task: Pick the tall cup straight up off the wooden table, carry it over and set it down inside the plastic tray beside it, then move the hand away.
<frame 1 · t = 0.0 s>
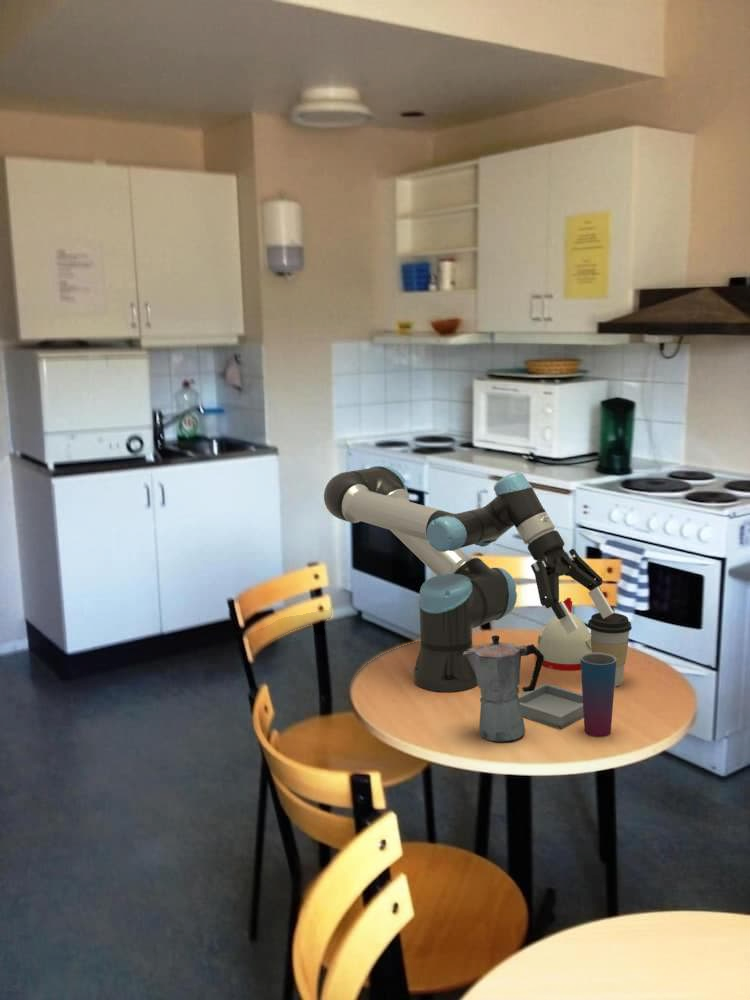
hand: (591, 623, 198), 16 cm above the table, tool tilted 35°, fingers open, 13 cm apart
moka pot: (503, 734, 184), on the table
coffee cup: (607, 683, 208), on the table, touching gripper
kitchen timer: (565, 661, 223), on the table
cup: (597, 732, 183), on the table
tray: (552, 710, 193), on the table
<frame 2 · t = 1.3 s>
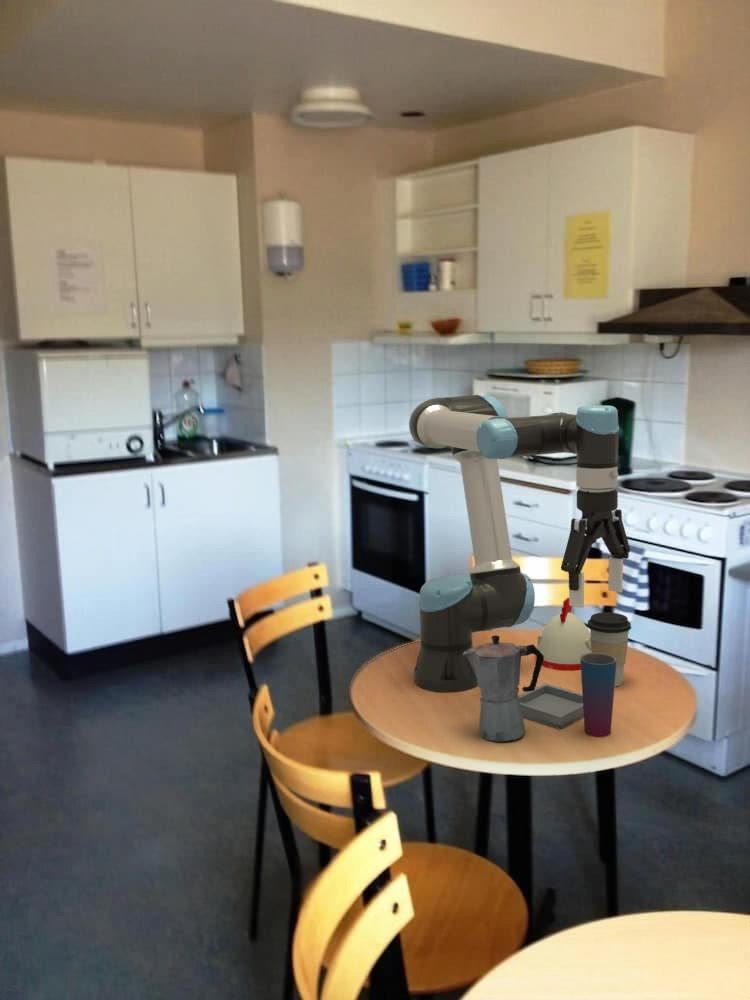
hand: (596, 598, 178), 27 cm above the table, tool pointing down, fingers open, 13 cm apart
coffee cup: (607, 683, 208), on the table
everything else where it was.
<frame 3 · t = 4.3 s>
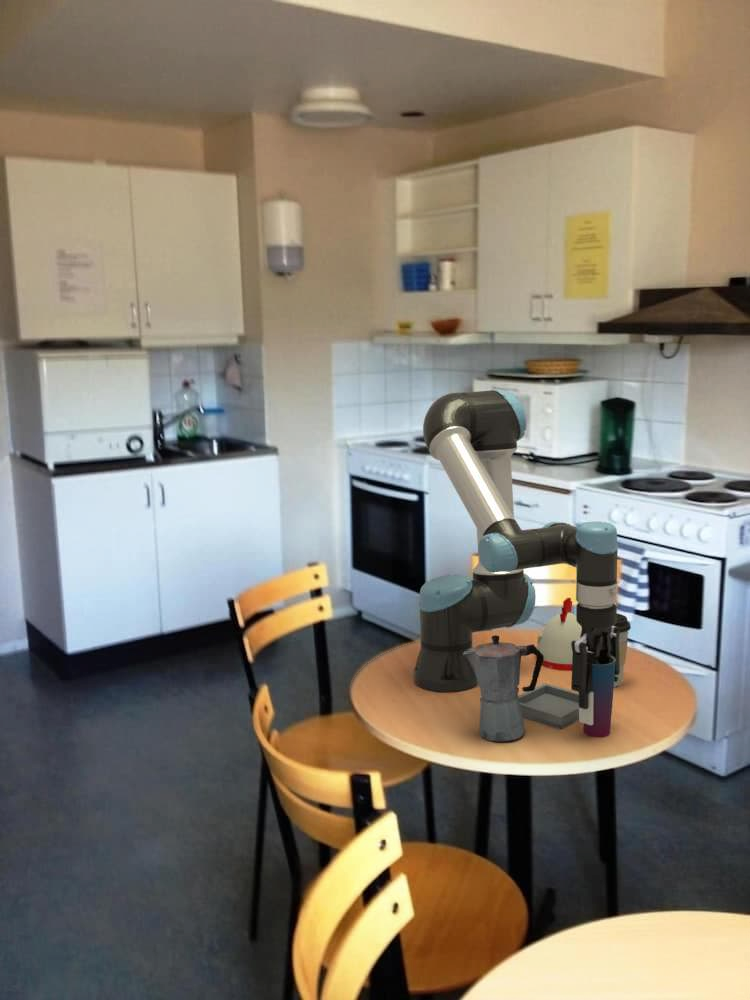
hand: (595, 717, 182), 3 cm above the table, tool pointing down, fingers closed on cup, 6 cm apart
cup: (596, 732, 183), on the table, touching gripper
everything else where it was.
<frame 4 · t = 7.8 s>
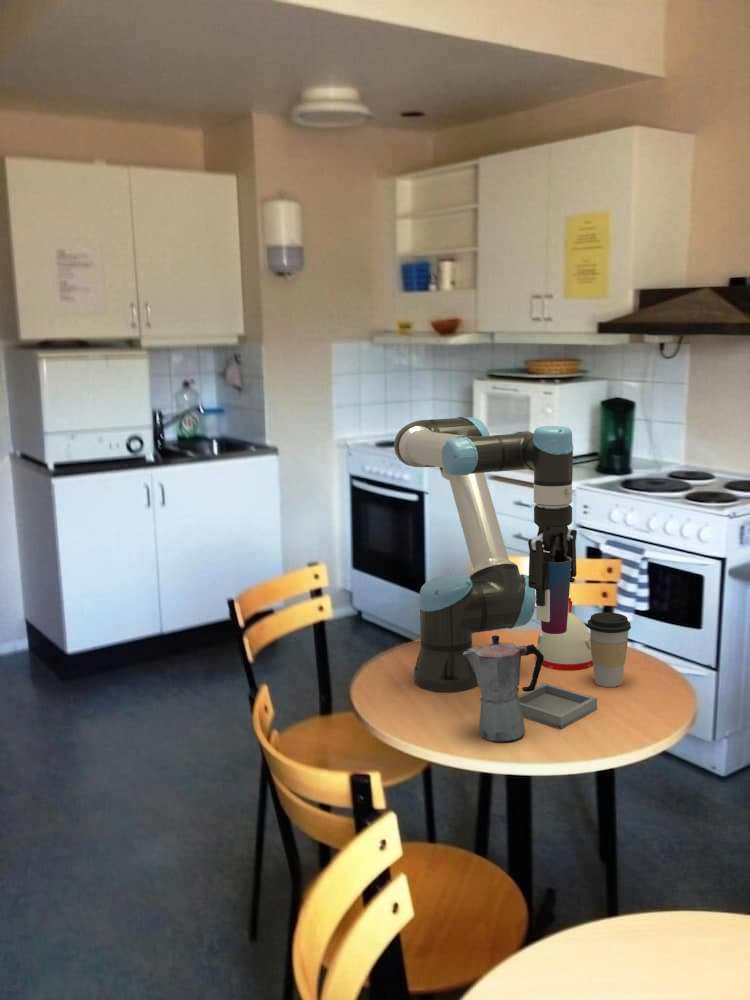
hand: (552, 616, 190), 20 cm above the table, tool pointing down, fingers closed on cup, 6 cm apart
cup: (554, 631, 190), point 17 cm above the table, touching gripper
everything else where it was.
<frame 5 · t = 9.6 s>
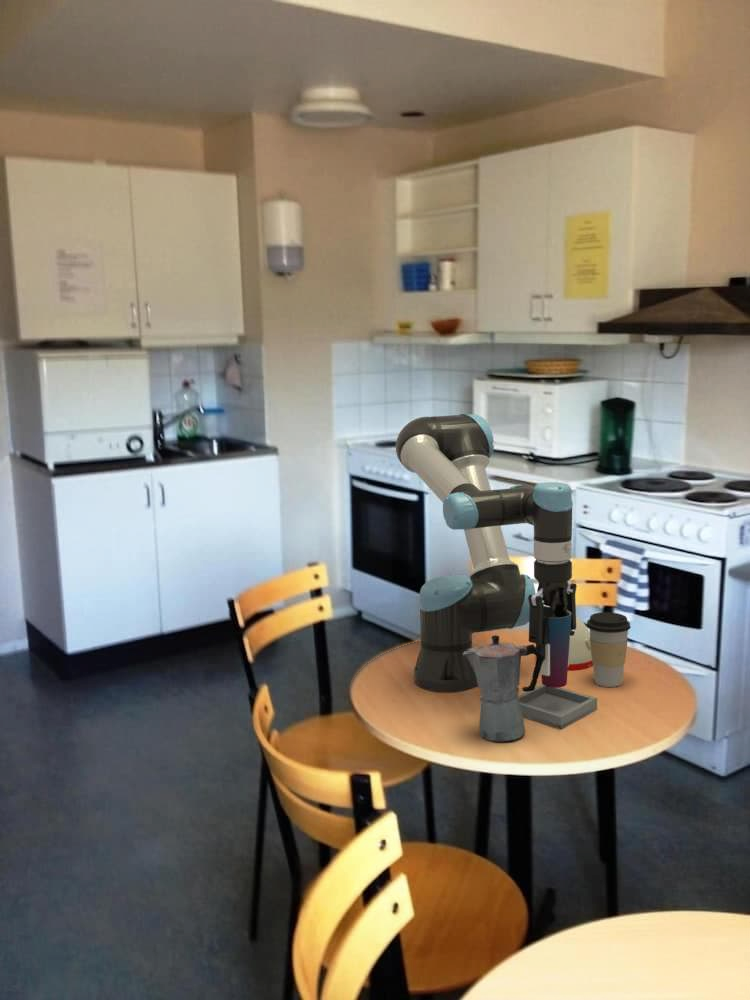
hand: (552, 669, 192), 9 cm above the table, tool pointing down, fingers closed on cup, 6 cm apart
cup: (554, 684, 192), point 6 cm above the table, touching gripper
everything else where it was.
when the fingers open (5 cm above the table, at t = 11.2 s): cup drops 1 cm, resting on tray.
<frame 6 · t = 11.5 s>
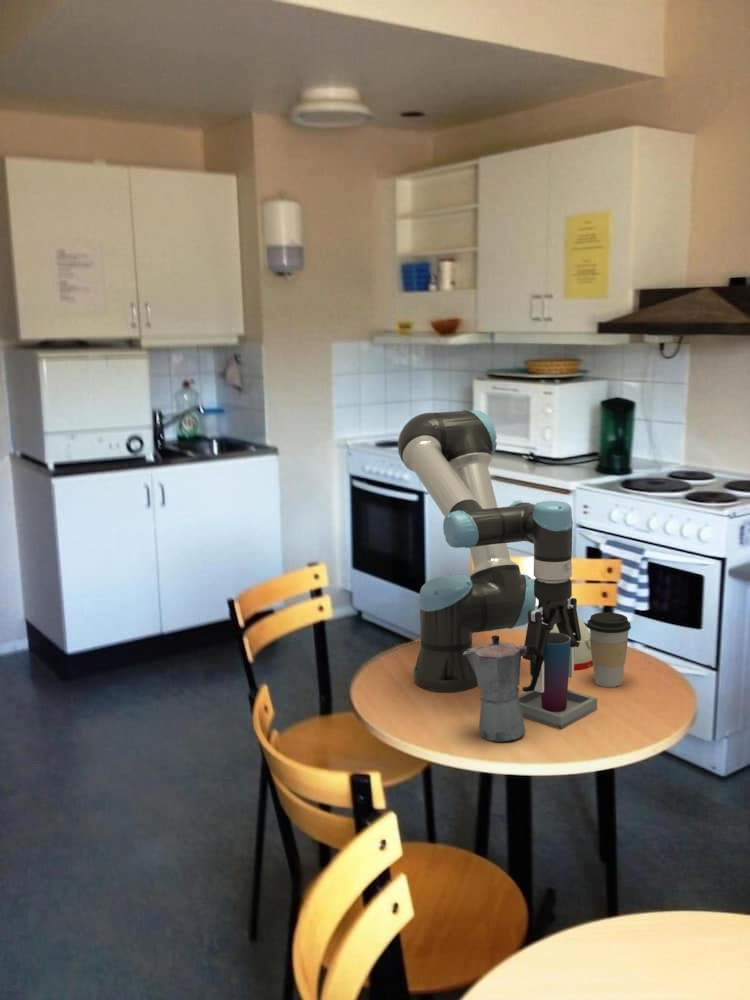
hand: (552, 683, 192), 6 cm above the table, tool pointing down, fingers open, 10 cm apart
cup: (554, 707, 193), point 1 cm above the table, touching tray
everything else where it was.
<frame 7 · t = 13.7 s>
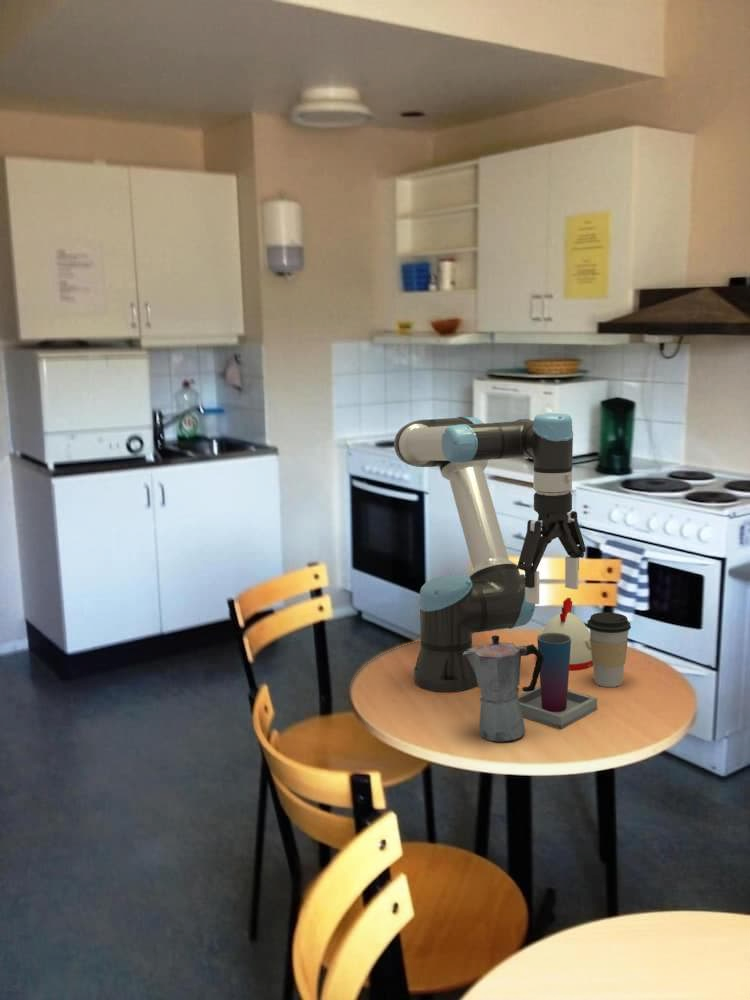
hand: (552, 595, 189), 25 cm above the table, tool pointing down, fingers open, 13 cm apart
nothing on the table moved.
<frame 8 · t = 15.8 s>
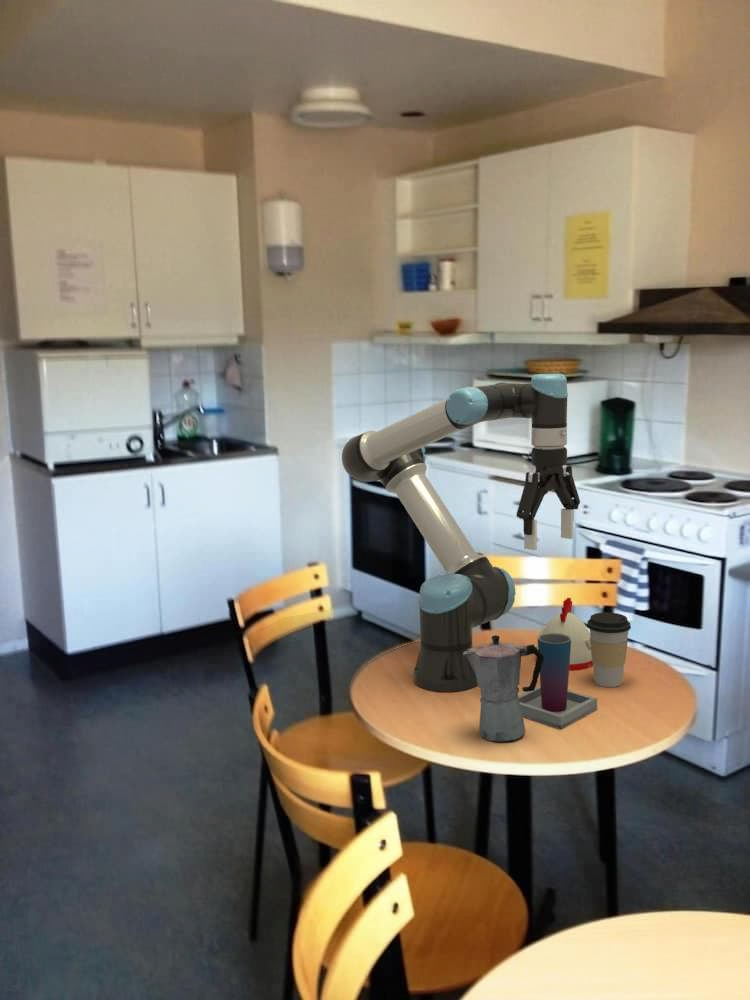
hand: (549, 543, 204), 32 cm above the table, tool pointing down, fingers open, 13 cm apart
nothing on the table moved.
at the end: cup inside the target area on the tray (0.3 cm from its centre), point 0.6 cm above the tray's base; cup tilted 0°; the gripper is holding nothing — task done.
